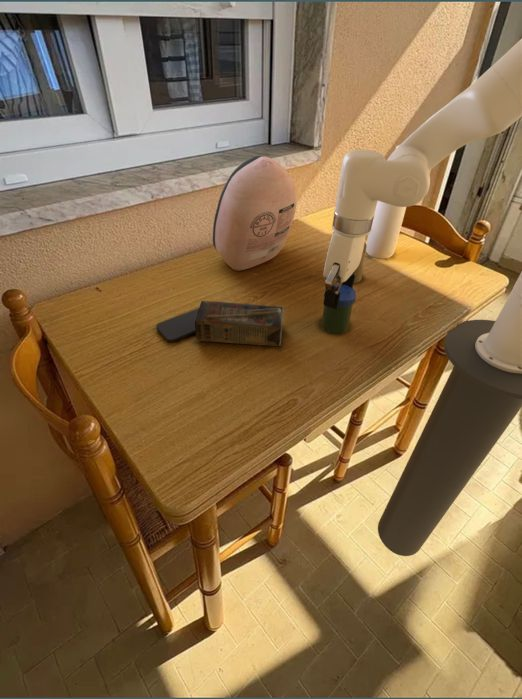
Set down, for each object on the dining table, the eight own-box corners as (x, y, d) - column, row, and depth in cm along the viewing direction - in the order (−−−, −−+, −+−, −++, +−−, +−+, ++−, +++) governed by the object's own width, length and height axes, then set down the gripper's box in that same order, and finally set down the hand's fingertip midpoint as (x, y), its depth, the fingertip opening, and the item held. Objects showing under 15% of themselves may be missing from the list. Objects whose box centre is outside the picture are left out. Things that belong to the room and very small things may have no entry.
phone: (226, 318, 91) (168, 341, 84) (226, 320, 91) (169, 344, 84) (210, 303, 95) (154, 324, 88) (210, 306, 96) (155, 327, 89)
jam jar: (352, 322, 91) (359, 291, 85) (342, 337, 87) (348, 305, 81) (327, 314, 94) (332, 283, 88) (316, 327, 90) (321, 296, 84)
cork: (357, 285, 104) (364, 247, 97) (336, 278, 106) (342, 242, 99) (364, 275, 108) (372, 239, 101) (344, 269, 110) (351, 233, 103)
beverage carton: (281, 348, 84) (282, 325, 79) (195, 343, 85) (192, 319, 80) (282, 326, 90) (283, 303, 85) (201, 321, 91) (199, 298, 86)
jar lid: (359, 295, 86) (361, 289, 85) (348, 310, 82) (349, 304, 81) (331, 286, 89) (332, 280, 88) (318, 300, 85) (319, 294, 83)
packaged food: (262, 241, 123) (264, 138, 104) (304, 265, 112) (315, 154, 92) (205, 261, 113) (195, 151, 93) (245, 290, 102) (243, 171, 82)
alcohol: (360, 247, 121) (381, 143, 101) (386, 245, 123) (411, 141, 103) (371, 260, 115) (395, 151, 95) (398, 258, 116) (428, 150, 96)
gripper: (350, 203, 81) (337, 276, 92) (315, 233, 70) (305, 311, 81) (385, 211, 78) (367, 285, 90) (354, 243, 67) (338, 322, 78)
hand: (338, 297), depth 85 cm, fingers open, 8 cm apart
